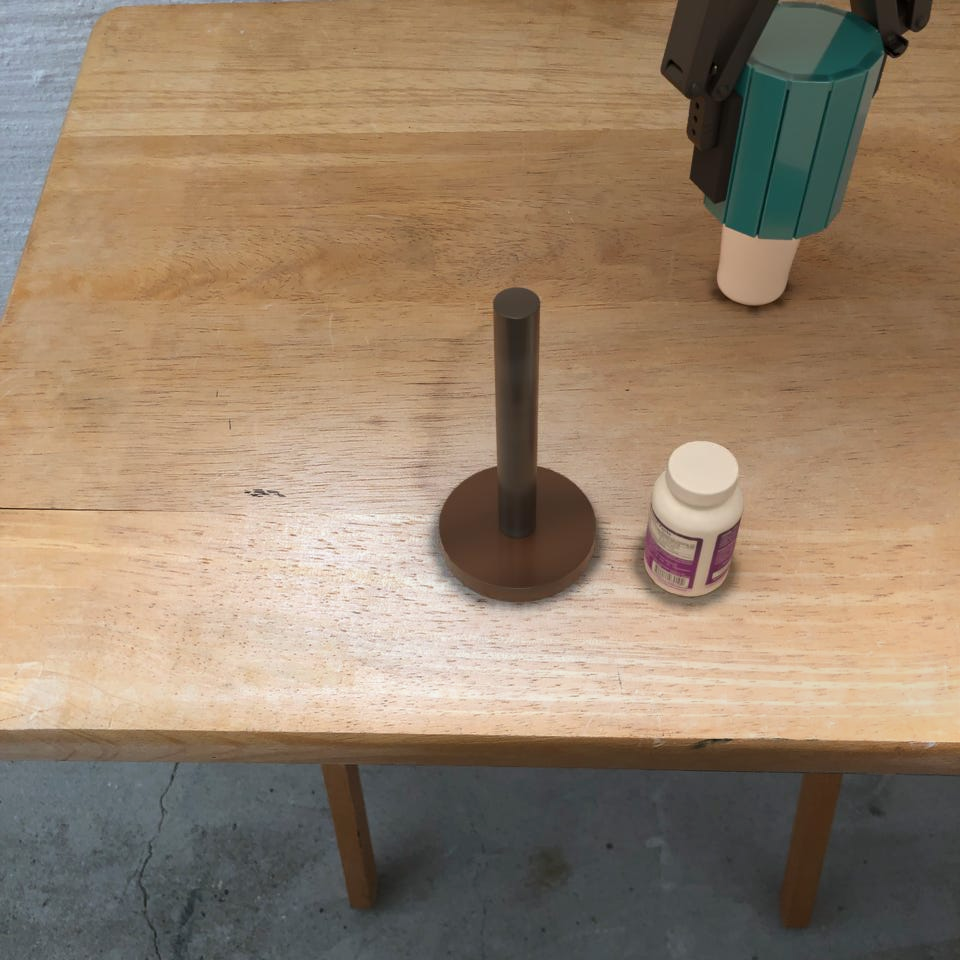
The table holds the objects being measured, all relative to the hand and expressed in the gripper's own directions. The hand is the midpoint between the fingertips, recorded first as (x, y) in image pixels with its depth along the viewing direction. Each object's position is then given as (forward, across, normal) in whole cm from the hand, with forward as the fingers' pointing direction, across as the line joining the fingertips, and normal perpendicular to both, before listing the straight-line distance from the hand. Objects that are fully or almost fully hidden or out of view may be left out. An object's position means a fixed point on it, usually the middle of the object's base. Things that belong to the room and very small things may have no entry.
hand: (771, 168), depth 64 cm
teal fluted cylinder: (+2, 0, 0) cm, 2 cm away
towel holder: (+19, +19, +5) cm, 27 cm away
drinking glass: (+19, -8, -9) cm, 22 cm away
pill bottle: (+19, +10, +12) cm, 25 cm away
